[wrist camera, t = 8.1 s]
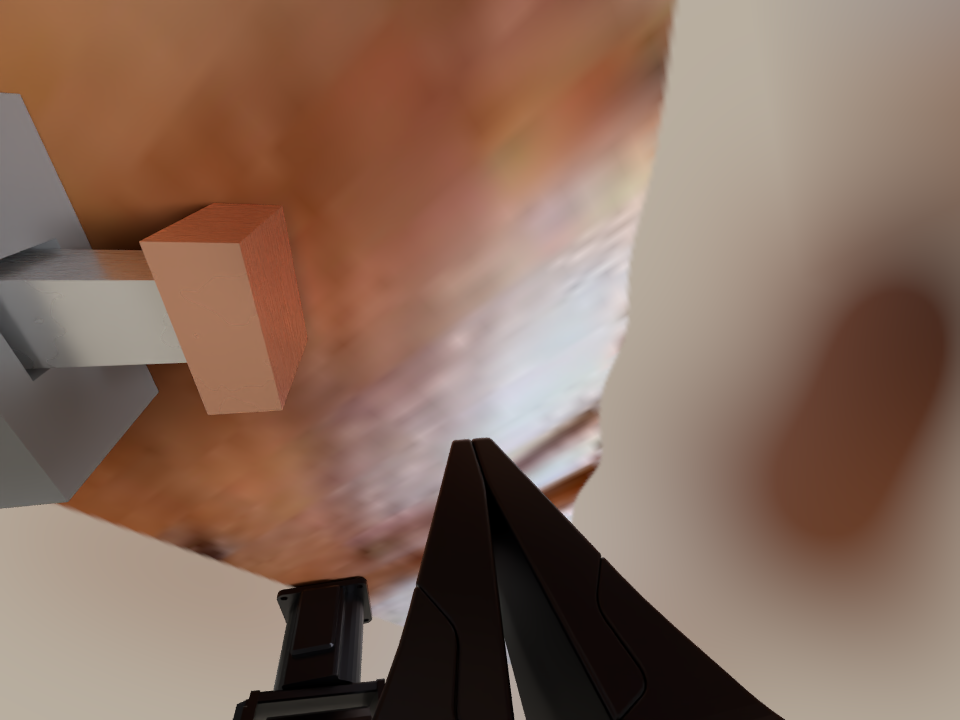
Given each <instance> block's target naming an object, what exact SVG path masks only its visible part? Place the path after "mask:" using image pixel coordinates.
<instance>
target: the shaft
mask: <svg viewBox="0 0 960 720" xmlns="http://www.w3.org/2000/svg"><path fill="white" fill-rule="evenodd" d="M139 243H140V245H141V248H142V250H82V249H25V250H23V251H20V252H18V253H15V254H12V255H10V256H7V257H4V258H2V259H0V333H1V334H2V336H3V337H4V339H5V340H6V342H7V343H8V345H9V346H10V348H11V349H12V351H13V352H14V354H15V355H16V357H17V358H18V360H19V361H20V362H21V364H22V365H23V367H24V368H25V369H35V368H61V367H87V366H112V365H138V364H164V363H187V364H188V366H189V369H190V371H191V374H192V376H193V379H194V381H195V384H196V386H197V389H198V391H199V394H200V396H201V399H202V401H203V404H204V406H205V409H206V411H207V414H208V415H215V414H231V413H247V412H262V411H278V410H283V407H284V404H285V402H286V399H287V396H288V393H289V391H290V388H291V385H292V382H293V379H294V377H295V374H296V371H297V368H298V366H299V363H300V360H301V357H302V354H303V352H304V349H305V346H306V343H307V340H308V338H307V333H306V328H305V322H304V317H303V312H302V306H301V301H300V296H299V291H298V285H297V280H296V275H295V270H294V264H293V259H292V254H291V249H290V243H289V238H288V233H287V228H286V222H285V217H284V212H283V207H282V205H254V204H227V203H212V204H211V205H209V206H207V207H205V208H203V209H201V210H199V211H197V212H195V213H193V214H191V215H189V216H187V217H185V218H183V219H182V220H180V221H178V222H176V223H174V224H172V225H170V226H168V227H166V228H164V229H162V230H160V231H158V232H156V233H154V234H153V235H151V236H149V237H147V238H145V239H143V240H141V241H139Z"/></svg>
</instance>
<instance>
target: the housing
mask: <svg viewBox="0 0 960 720" xmlns="http://www.w3.org/2000/svg"><path fill="white" fill-rule="evenodd" d="M25 249H82V250H92V248H91V246H90V244H89V241H88V239H87V237H86V235H85V233H84V231H83V229H82V226H81V224H80V222H79V220H78V218H77V216H76V214H75V211H74V209H73V207H72V205H71V203H70V201H69V199H68V196H67V194H66V192H65V190H64V188H63V186H62V184H61V181H60V179H59V177H58V175H57V173H56V171H55V169H54V166H53V164H52V162H51V160H50V158H49V156H48V154H47V151H46V149H45V147H44V145H43V143H42V141H41V139H40V136H39V134H38V132H37V130H36V128H35V126H34V124H33V121H32V119H31V117H30V115H29V113H28V111H27V109H26V106H25V104H24V102H23V100H22V98H21V96H20V94H13V93H1V92H0V259H2V258H4V257H7V256H10V255H12V254H15V253H18V252H20V251H23V250H25ZM158 392H159V391H158V389H157V387H156V385H155V383H154V381H153V378H152V376H151V374H150V372H149V370H148V368H147V366H146V364H138V365H112V366H87V367H61V368H35V369H25V368H24V367H23V365H22V364H21V362H20V361H19V360H18V358H17V357H16V355H15V354H14V352H13V351H12V349H11V348H10V346H9V345H8V343H7V342H6V340H5V339H4V337H3V336H2V334H1V333H0V508H11V507H21V506H30V505H41V504H51V503H62V502H68V501H69V500H70V499H71V498H72V497H73V495H74V494H75V493H76V492H77V490H78V489H79V488H80V487H81V486H82V484H83V483H84V482H85V481H86V480H87V478H88V477H89V476H90V475H91V473H92V472H93V471H94V470H95V469H96V467H97V466H98V465H99V464H100V463H101V461H102V460H103V459H104V458H105V456H106V455H107V454H108V453H109V452H110V450H111V449H112V448H113V447H114V446H115V444H116V443H117V442H118V441H119V440H120V438H121V437H122V436H123V435H124V433H125V432H126V431H127V430H128V429H129V427H130V426H131V425H132V424H133V423H134V421H135V420H136V419H137V418H138V416H139V415H140V414H141V413H142V412H143V410H144V409H145V408H146V407H147V406H148V404H149V403H150V402H151V401H152V399H153V398H154V397H155V396H156V395H157V393H158Z"/></svg>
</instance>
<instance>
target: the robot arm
mask: <svg viewBox="0 0 960 720" xmlns="http://www.w3.org/2000/svg"><path fill="white" fill-rule="evenodd" d="M277 601H278V604H279V606H280V608H281V611H282V613H283V615H284V618H285V620H286V623H287V625H286V630H285V635H284V640H283V646H282V650H281V655H280V660H279V666H278V670H277V675H276V680H275V685H274V690H273V691H265V692H260V691H259V690H257V691H251V693H250V697H249V699H247V700H246V701H243V702H241V703H239V704H237V707H236V710H235V714H234V718H233V720H514V713H513V705H512V697H511V688H510V680H509V672H508V664H507V656H506V648H505V642H506V646H507V649H508V653H509V657H510V661H511V664H512V668H513V672H514V676H515V679H516V683H517V687H518V691H519V695H520V698H521V702H522V706H523V710H524V714H525V717H526V720H785V719H783V718H782V717H780V716H779V715H778V714H776V713H775V712H773V711H772V710H771V709H769V708H768V707H767V706H766V705H764V704H763V703H762V702H760V701H759V700H758V699H757V698H755V697H754V696H753V695H752V694H751V693H749V692H748V691H747V690H746V689H745V688H744V687H743V686H741V685H740V684H739V683H738V682H737V681H736V680H735V679H734V678H732V677H731V676H730V675H729V674H728V673H727V672H726V671H725V670H723V669H722V668H721V667H720V666H719V665H718V664H717V663H715V662H714V661H713V660H712V659H711V658H710V657H709V656H707V655H706V654H705V653H704V652H703V651H702V650H701V649H700V648H699V647H697V646H696V645H695V644H694V643H693V642H692V641H691V640H690V639H688V638H687V637H686V636H685V635H684V634H683V633H682V632H681V631H679V630H678V629H677V628H676V627H674V625H673V624H672V623H670V622H669V621H668V620H667V619H666V618H665V617H664V616H663V615H662V614H661V613H660V612H658V611H657V610H656V609H655V608H654V607H653V606H652V605H651V604H650V603H649V602H647V600H645V599H644V598H643V597H642V596H641V595H640V594H639V593H638V592H637V591H636V590H635V589H634V588H633V587H632V586H631V585H630V584H629V583H628V582H627V581H626V580H625V579H624V578H623V577H622V576H621V575H620V574H619V573H618V571H616V570H615V568H614V567H613V566H612V565H611V564H610V563H609V562H608V561H607V560H606V559H605V558H601V554H600V553H599V552H598V551H597V550H596V549H595V548H594V546H593V545H591V543H590V542H589V541H588V540H587V539H586V538H585V537H584V536H583V535H582V534H581V533H580V532H579V531H578V530H577V529H576V527H575V526H574V525H573V524H572V523H571V522H570V521H569V520H568V519H567V518H566V517H565V516H564V515H563V514H562V513H561V512H560V511H559V510H558V509H557V508H556V506H555V505H554V504H553V503H552V502H551V501H550V500H549V499H548V498H547V497H546V496H545V495H544V494H543V493H542V492H541V491H540V490H539V489H538V488H537V486H536V485H535V484H534V483H533V482H532V481H531V480H530V479H529V478H528V477H527V476H526V475H525V474H524V473H523V472H522V471H521V470H520V469H519V468H518V467H517V465H516V464H515V463H514V462H513V461H512V460H511V459H510V458H509V457H508V456H507V455H506V454H505V453H504V452H503V451H502V450H501V449H500V448H499V447H498V445H497V444H496V443H495V442H494V441H493V440H492V439H490V438H476V439H473V440H472V441H471V440H469V439H464V440H454V441H453V442H452V445H451V449H450V453H449V457H448V461H447V465H446V468H445V472H444V476H443V480H442V484H441V488H440V492H439V496H438V500H437V504H436V507H435V511H434V515H433V519H432V523H431V527H430V531H429V535H428V539H427V542H426V546H425V550H424V554H423V558H422V562H421V566H420V570H419V574H418V578H417V581H416V588H415V589H414V592H413V596H412V600H411V604H410V608H409V612H408V615H407V619H406V622H405V625H404V629H403V632H402V636H401V639H400V643H399V646H398V649H397V652H396V655H395V657H394V660H393V663H392V666H391V669H390V672H389V674H388V677H387V680H386V683H385V679H377V680H376V681H371V682H360V678H361V660H362V659H361V658H362V640H363V624H364V623H369V622H370V621H371V620H372V611H371V605H370V598H369V592H368V585H367V580H366V579H365V578H357V579H350V580H344V581H337V582H330V583H324V584H317V585H311V586H304V587H298V588H291V589H284V590H281V591H279V592H278V596H277ZM504 638H505V639H504Z"/></svg>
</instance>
